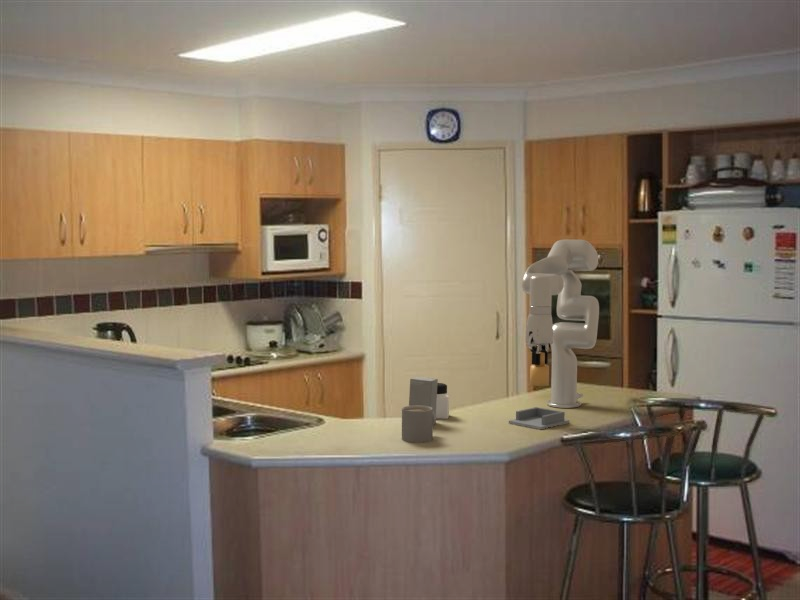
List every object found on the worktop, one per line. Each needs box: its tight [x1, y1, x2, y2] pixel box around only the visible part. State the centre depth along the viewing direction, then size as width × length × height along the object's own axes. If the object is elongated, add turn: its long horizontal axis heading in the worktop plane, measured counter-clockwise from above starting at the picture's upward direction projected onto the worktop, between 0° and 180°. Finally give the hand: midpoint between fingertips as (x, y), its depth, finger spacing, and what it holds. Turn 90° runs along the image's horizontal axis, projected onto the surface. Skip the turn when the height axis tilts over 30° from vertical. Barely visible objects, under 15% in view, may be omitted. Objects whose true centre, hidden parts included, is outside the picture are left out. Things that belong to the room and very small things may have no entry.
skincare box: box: [408, 376, 439, 423], centre depth 347 cm, size 8×7×16 cm
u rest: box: [508, 406, 570, 430], centre depth 347 cm, size 16×14×4 cm
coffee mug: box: [401, 405, 436, 443], centre depth 324 cm, size 13×10×10 cm
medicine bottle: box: [436, 382, 450, 420], centre depth 358 cm, size 7×7×12 cm
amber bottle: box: [529, 351, 550, 387], centre depth 346 cm, size 6×6×11 cm
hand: (539, 363), depth 345 cm, fingers closed on amber bottle, 3 cm apart
